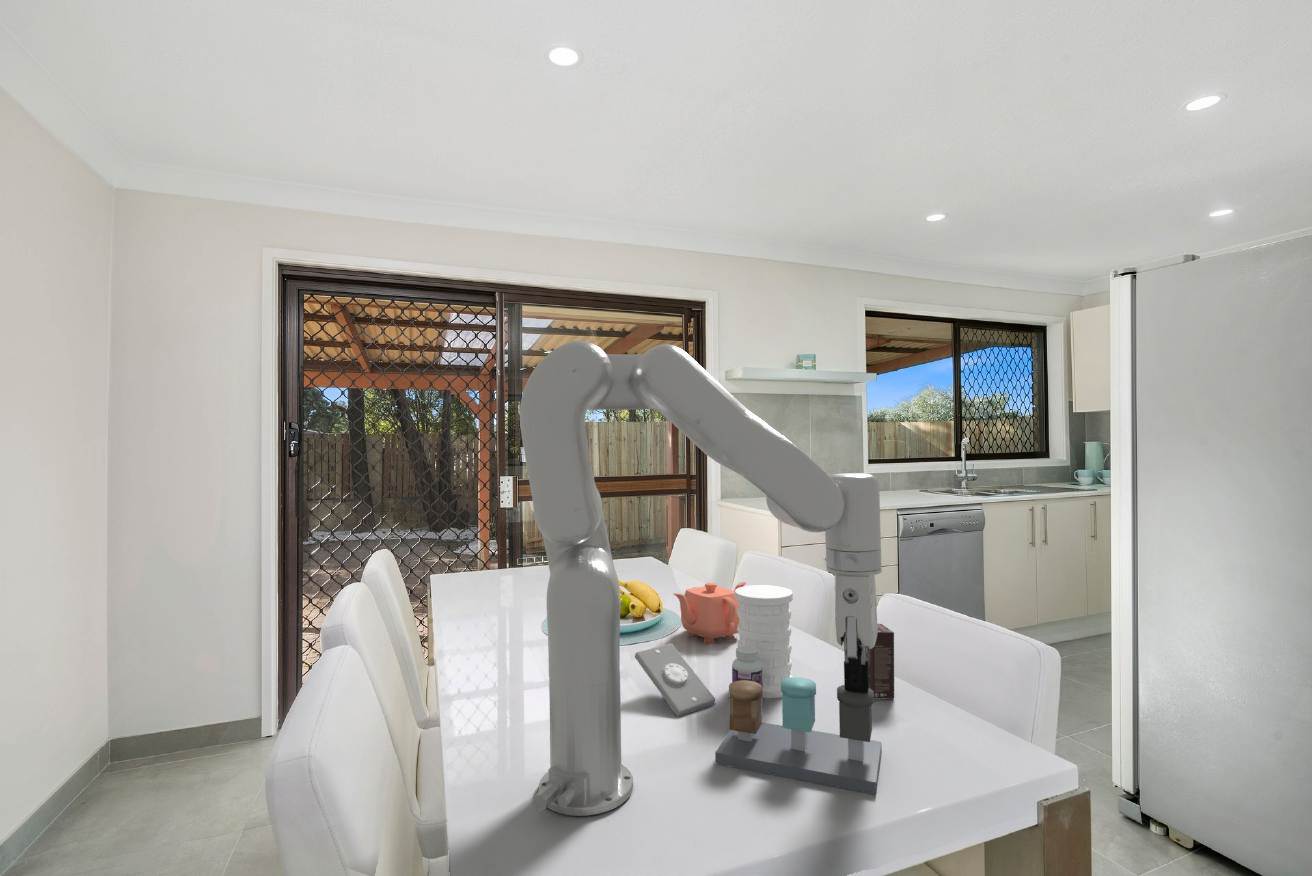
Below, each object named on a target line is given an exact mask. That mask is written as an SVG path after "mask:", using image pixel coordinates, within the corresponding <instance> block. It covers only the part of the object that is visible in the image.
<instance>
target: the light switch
mask: <svg viewBox="0 0 1312 876" xmlns="http://www.w3.org/2000/svg"><path fill="white" fill-rule="evenodd" d="M634 658H635V659H636V661H637V663H638V664H639V665H640V667H641V668H642V669H643V671H644V672H645V674H646V675H647V677H648V678H649V679H650V680H651V682H652V684H653V685H654V686H655V687H656V689H657V690H658V692H659V693H660V695H661V696H662V697H663V698H664V700H665V702H666V703H667V704H668V705H669V708H671V710H672V711H673V712H674V714H675V715H676V716H677V717H682V716H685V715H688V714H689V713H692V711H693V712H695V710H696V711H698V710H701V709H704V708H706V707H710V706H712V705H714V704H715V703H716V698H715V696H714V695H713V693H711V691H710V690H709V689H708V688H707V686H706V685H705V684H704V683H703V681H702V680H701V679H700V677H699V676H698V675H697V674H696V672H695V671H694V670H693V668H691V665H689V664H688V662H687V661H686V660H685V658H684V657H683V656H682V655H681V654H680V653H679V651H678V650H677V649H676V647H675V646H674V644H673V643H667V644H663V645H660V646H656V647H652V648H647V649H644V650H641V651H636V652H635V655H634Z"/></svg>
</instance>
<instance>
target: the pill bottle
mask: <svg viewBox="0 0 1312 876" xmlns="http://www.w3.org/2000/svg"><path fill="white" fill-rule="evenodd" d="M735 657H736V658H735V659H734V660H733V661H732V665H731V668H732V669H731V683H732V682H735V681H741V680H746V681H753V682H757V683H759V684H760V685H761V686H762V703H763V699H764V698H763V677H762V675H763V674H762V669H763V668H762V663H761V662H760V661H759V660H758V657H759V653H758V649H757V648H755V647H751V646H741V647H738V646H737V647H736V648H735Z"/></svg>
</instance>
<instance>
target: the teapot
mask: <svg viewBox="0 0 1312 876" xmlns="http://www.w3.org/2000/svg"><path fill="white" fill-rule="evenodd" d="M746 584H747V582H746V581H744V582H739V583H737V585H736V586H735V587H734V590H731V589H729V588H726V587H723V586H722V587H721V586H717V585H718V584H717V583H715V582H707V583H705V584H704V586H698V587H695V586H694V587H692V588H687V589H686V590H685V591H684V594H683V593H679V592H677V593H674V592H673V593H672V595H674V596H676V597H677V599H678V601H679V606H680V621H681V625H682V627H683V629H684V630H685V631H687V632H689V634H688V637H690V638H691V637H692V638H697V637H702V638H703V643H704V644H710V645H711V644H714V643H715V639H718V638H722V637H723V638H725V639H727V640H731V639H732V640H733V639H735V638H736V636H735V634H738V630H737V627H738V624H739V618H738V614H737V610H738V607H739V601H738V600H736V599H735V590H736V589H737V588H740V587H743V586H746Z"/></svg>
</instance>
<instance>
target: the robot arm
mask: <svg viewBox="0 0 1312 876" xmlns="http://www.w3.org/2000/svg"><path fill="white" fill-rule="evenodd" d="M519 407H520V408H519V424H520V425H519V426H520V432H521V433H520V434H521V440H522V446H523V451H524V452H523V453H524V457H525V465H526V470H527V471H526V472H527V477H528V481H529V487H530V493H531V498H532V499H531V500H532V507H533V516H534V521H535V524H536V527H537V529H538V530H539V531H540V533H541V535H542V539H543V545H544V549H545V554H546V559H547V564H548V569H549V574H550V575H549V579H548V582H547V588H546V589H547V590H546V622H547V642H548V643H547V647H548V649H547V651H548V652H547V653H548V680H549V681H548V683H549V684H548V687H549V689H548V690H549V697H548V698H549V750H550V751H549V754H550V755H549V756H550V758H549V761H550V762H549V764H550V768H549V769H548V770H547V772H546V773H544V775H543V776H542V777H541V778H540V780H539V783H538V793H536V795H535V796H534V797H533V800H532V803H533V806H534V808H535V809H536V810H537V811H538V812H542V811H545V810H546V809H547V808H548V809H549V810H551V811H552V812H555V813H558V814H562V815H565V816H571V817H574V816H575V817H578V816H579V817H583V816H584V817H585V816H593V815H594V816H595V815H598V814H604V813H606V812H609V811H612V810H613V809H615V808H618V807H620V805H622V804H623V803H624V802H625V801H626V802H627V801H628V799H629V797H631V795H632V793H633V791H634V790H633V789H634V777H633V775H632V772H631V771H630V770H629V768H627V766H625V765H624V764H622V717H621V716H622V715H621V712H622V711H621V710H622V709H621V708H622V707H621V704H622V702H621V701H622V700H621V667H620V665H621V662H620V661H621V660H620V659H621V656H620V650H621V649H620V644H621V643H620V638H621V636H620V632H621V629H620V628H621V606H622V605H621V603H622V602H621V589H620V588H621V587H620V582H619V578H618V575H617V571H616V569H615V564H614V560H613V555H612V552H611V551H612V550H611V545H610V541H609V536H608V530H607V525H606V520H605V514H604V510H603V501H602V497H601V494H600V492H599V489H598V488H597V485H596V481H595V476H594V473H593V468H592V462H591V457H590V453H589V451H590V450H589V444H588V439H587V434H586V428H585V427H586V426H585V421H586V415H587V414H586V413H587V411H588V410H589V411H593V410H596V411H597V410H599V411H600V410H601V411H602V410H603V411H606V410H607V411H609V410H611V411H612V410H614V411H617V410H620V411H623V410H624V411H626V410H627V411H630V410H631V411H632V410H634V411H635V410H636V411H638V410H639V411H640V410H657V411H658V412H659V413H660V414H661V415H663V417H665V419H667V420H668V421H669V422H670V423H671V424H673V426H674V427H675V428H677V429H678V430H679V431H681V433H682V434H683V435H684V436H686V438H688V439H689V440H690V442H692V443H693V444H694V445H695V446H696V447H697V448H699V450H701V452H703V453H704V454H705V455H706V456H708V457H709V458H710V459H712V460H714V462H716V463H718V464H720V465H721V466H723V467H725V468H727V469H729V470H731V471H733V472H735V473H736V474H738V475H739V476H741V477H743V478H744V479H746V480H747V481H748V482H750V483H751V484H752V485H754V486H755V487H756V488H757V489H759V490H760V491H761V492H762V493H763V494H764V495H766V498H765V500H766V501H765V502H766V505H767V507H768V510H769V512H770V513H771V515H772V516H773V517H775V519H777V520H778V521H780V522H782V523H784V524H787V525H789V526H791V527H794V528H798V529H800V530H802V531H805V532H808V533H822V532H823V533H824V532H825V538H824V539H825V563H826V564H825V568H826V571H827V572H828V573H831V574H834V615H835V616H834V617H835V618H834V619H835V633H836V635H835V637H836V642H837V644H838V645H839V646H841V647H842V646H843V651H844V661H843V676H844V678H843V679H844V680H843V682H844V684H843V685H844V687H845V690H846V691H853V692H861V693H867V692H868V690H869V663H868V661H866V660H867V646H868V647H869V649H872V648H873V647H874V646H875V643H876V638H877V633H878V625H877V624H878V611H877V610H878V609H877V590H876V589H877V588H876V578H875V575H879V574H881V573H882V572H883V571H882V570H883V569H882V543H881V540H882V539H881V536H882V535H881V533H882V532H881V504H880V503H881V502H880V501H881V500H880V483H879V480H878V478H877V477H876V476H874V474H873V475H872V474H870V473H865V472H864V473H863V472H862V473H861V472H859V473H858V472H857V473H856V472H852V473H851V472H849V473H848V472H847V473H846V472H845V473H844V472H843V473H835V474H830V475H829V474H828V473H826V471H824V469H822V468H821V466H819V465H818V464H817V463H816V462H815V461H814V460H813V459H812V458H811V457H810V456H809V455H807V454H806V453H805V452H804V451H803V450H801V448H799V447H798V446H797V445H796V444H794V443H793V442H792V441H791V440H789V439H788V438H787V437H785V436H784V435H782V434H781V433H780V432H778V431H777V430H776V429H774V428H773V427H772V426H770V425H769V424H768V423H766V422H765V421H764V420H762V419H761V418H760V417H759V416H757V415H756V414H754V413H753V412H751V411H750V410H749V409H748V408H746V406H745V405H743V404H742V402H740V401H739V400H738V399H737V398H736V397H735V396H734V395H733V394H731V393H730V392H729V391H728V389H726V388H725V387H724V386H723V385H722V384H721V383H720V382H719V381H718V380H716V378H714V377H713V376H712V375H711V374H710V373H709V372H708V371H707V370H706V369H705V368H704V367H702V366H701V365H700V364H699V363H698V361H696V360H695V359H694V358H693V357H692V356H691V355H690V354H688V353H687V352H686V351H685V350H684V349H682V348H680V347H678V346H676V345H674V344H669V343H666V344H665V343H662V344H658V345H655V346H653V347H651V348H649V349H648V350H646V351H645V352H643V353H635V354H633V353H631V354H630V353H629V354H623V353H622V354H621V353H620V354H618V353H617V354H616V353H615V354H613V353H612V354H611V353H606V352H605V351H604V350H603V348H601V347H599V345H596V344H595V343H593V342H590V341H586V340H574V341H573V340H572V341H569V342H566V343H563V344H561V345H560V346H558V347H556V348H554V349H553V350H552V351H550V352H549V353H548V354H547V355H545V357H543V358H542V360H540V362H539V363H538V364H537V365H536V366H535V367H534V369H533V371H532V372H531V374H530V376H529V377H528V380H527V381H526V383H525V386H524V389H523V392H522V396H521V400H520V406H519Z"/></svg>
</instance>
